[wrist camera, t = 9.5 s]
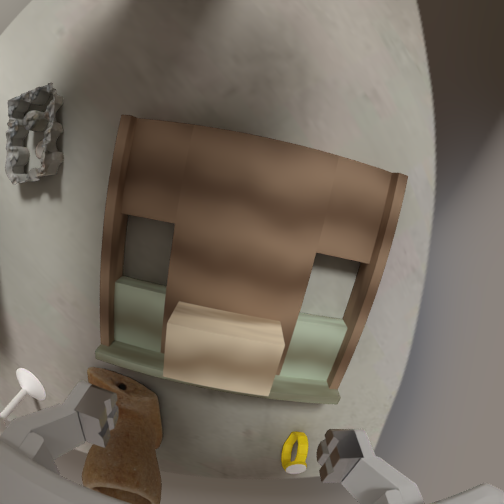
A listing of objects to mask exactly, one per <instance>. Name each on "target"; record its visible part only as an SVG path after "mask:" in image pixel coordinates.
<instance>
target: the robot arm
mask: <svg viewBox="0 0 504 504" xmlns="http://www.w3.org/2000/svg"><path fill="white" fill-rule="evenodd" d="M117 400H118V399H117V394H116V393H114V392H112V391H109V390H106V389H103V388H101V387H98V386H96V385H93V384H90V383H88V382H85V381H83V380H81V381H79V382H78V383H77V385H76V386H75V387H74V389H73V390H72V392H71V393H70V394H69V396H68V397H67V398H66V400H65V401H64V403H63V404H62V405H61V404H56V405H54V406H51V407H48V408H45V409H42V410H39V411H37V412H34V413H31V414H28V415H25V416H22V417H19V418H15V419H13V420H12V421H11V423H10V424H9V425H8V426H7V428H6V429H5V430H4V432H3V433H2V434H1V436H0V504H131V503H128V502H125V501H122V500H119V499H116V498H113V497H110V496H108V495H105V494H102V493H100V492H97V491H95V490H92V489H90V488H87V487H85V486H82V485H80V484H78V483H76V482H73V481H71V480H69V479H67V478H65V477H63V476H60V472H59V470H58V468H57V466H56V464H55V462H54V460H55V459H57V458H59V457H60V456H62V455H64V454H66V453H67V452H69V451H71V450H73V449H74V448H76V447H78V446H80V445H81V444H83V443H85V441H87V442H89V443H92V444H95V445H98V446H100V447H103V448H105V447H106V445H107V443H108V441H109V439H110V437H111V436H110V430H112V429H114V428H115V426H116V424H117V420H118V415H119V409H118V406H117V405H116V402H117ZM317 462H318V463H319V464H320V465H321V466H322V467H321V469H320V470H319V472H320V477H321V481H322V483H339V482H342V483H341V484H342V485H343V486H344V487H345V488H346V489H347V490H348V492H349V493H350V494H351V495H352V496H353V497H354V498H355V499H356V500H357V501H358V502H359V503H360V504H425V503H424V501H423V498H422V496H421V494H420V491H419V489H418V487H417V484H416V483H414V482H413V481H411V480H409V479H408V478H407V477H405V476H404V475H403V474H401V473H400V472H399V471H397V470H396V469H395V468H393V467H392V466H390V465H389V464H388V463H387V462H385V461H384V460H383V459H381V458H380V457H376V456H375V453H374V451H373V448H372V446H371V443H370V441H369V438H368V436H367V433H366V431H365V430H364V429H329V430H328V431H327V432H326V434H325V439H324V440H323V441H321V442H320V444H319V446H318V449H317ZM431 504H504V491H502V490H500V489H499V488H497V487H495V486H493V485H491V484H488V483H483V484H480V485H478V486H475V487H473V488H471V489H468V490H466V491H464V492H461V493H459V494H456V495H453V496H451V497H448V498H446V499H442V500H439V501H437V502H434V503H431Z"/></svg>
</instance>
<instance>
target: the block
mask: <svg viewBox="0 0 504 504" xmlns="http://www.w3.org/2000/svg"><path fill="white" fill-rule="evenodd" d="M284 347H285V343H284V338H283V333H282V327H281V322H280V321H276V320H271V319H265V318H259V317H254V316H248V315H243V314H238V313H233V312H228V311H223V310H218V309H213V308H208V307H203V306H198V305H194V304H189V303H185V302H180V301H179V302H178V304H177V306H176V307H175V309H174V311H173V313H172V315H171V317H170V318H169V320H168V322H167V330H166V342H165V354H164V368H163V377H167V378H171V379H175V380H180V381H184V382H188V383H193V384H198V385H202V386H207V387H213V388H218V389H223V390H229V391H235V392H241V393H248V394H254V395H262V396H269V393H270V390H271V387H272V384H273V381H274V378H275V375H276V372H277V369H278V366H279V363H280V360H281V356H282V353H283V350H284Z"/></svg>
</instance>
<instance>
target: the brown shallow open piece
mask: <svg viewBox="0 0 504 504" xmlns="http://www.w3.org/2000/svg"><path fill="white" fill-rule="evenodd" d="M407 179H408V176H406V175H404V174H401V173H391V172H388V171H385V170H383V169H380V168H377V167H374V166H370V165H367V164H364V163H361V162H358V161H355V160H351V159H348V158H345V157H341V156H338V155H334V154H331V153H327V152H324V151H320V150H316V149H312V148H308V147H305V146H301V145H296V144H292V143H288V142H284V141H280V140H275V139H271V138H266V137H261V136H256V135H252V134H246V133H241V132H236V131H230V130H225V129H219V128H213V127H206V126H200V125H193V124H186V123H178V122H170V121H161V120H151V119H141V118H136V117H134V116H132V115H121V120H120V124H119V129H118V133H117V138H116V143H115V148H114V153H113V159H112V165H111V171H110V177H109V184H108V191H107V198H106V207H105V216H104V226H103V237H102V251H101V271H100V335H101V345H100V346H99V347H98V348H97V350H96V351H95V356H96V359H98V360H101V361H104V362H107V363H110V364H113V365H116V366H120V367H123V368H126V369H129V370H133V371H136V372H140V373H143V374H147V375H151V376H154V377H158V378H162V379H166V380H170V381H174V382H178V383H183V384H187V385H192V386H196V387H201V388H206V389H211V390H216V391H222V392H227V393H233V394H239V395H246V396H253V397H260V398H267V399H276V400H284V401H294V402H306V403H319V404H338V402H339V400H340V398H341V397H340V395H339V392H338V387H339V385H340V383H341V381H342V378H343V376H344V374H345V372H346V370H347V367H348V365H349V363H350V360H351V358H352V356H353V353H354V351H355V349H356V346H357V344H358V341H359V339H360V336H361V334H362V331H363V329H364V326H365V323H366V321H367V318H368V315H369V313H370V310H371V307H372V304H373V302H374V299H375V296H376V293H377V290H378V287H379V284H380V281H381V278H382V275H383V272H384V268H385V265H386V262H387V258H388V255H389V252H390V248H391V245H392V241H393V238H394V234H395V230H396V226H397V222H398V218H399V214H400V210H401V206H402V202H403V197H404V193H405V188H406V184H407ZM128 215H133V216H138V217H144V218H149V219H154V220H159V221H164V222H169V223H174V224H175V227H174V234H173V241H172V248H171V255H170V262H169V270H168V278H167V286H163V285H159V284H155V283H150V282H146V281H142V280H138V279H134V278H130V277H126V276H123V262H124V250H125V239H126V230H127V221H128ZM316 253H321V254H326V255H331V256H335V257H340V258H345V259H349V260H354V261H358V262H361V263H360V267H359V270H358V273H357V277H356V280H355V283H354V286H353V289H352V292H351V296H350V299H349V302H348V305H347V308H346V310H345V313H344V316H343V319H337V318H330V317H324V316H318V315H311V314H305V313H299V312H300V309H301V306H302V302H303V299H304V295H305V292H306V288H307V285H308V281H309V278H310V274H311V270H312V267H313V263H314V259H315V255H316ZM179 301H180V302H185V303H189V304H194V305H198V306H203V307H208V308H213V309H218V310H223V311H228V312H233V313H238V314H243V315H248V316H254V317H259V318H265V319H271V320H276V321H280V322H281V327H282V333H283V338H284V343H285V347H284V350H283V353H282V356H281V360H280V363H279V366H278V369H277V372H276V375H275V378H274V381H273V384H272V387H271V390H270V393H269V396H262V395H254V394H248V393H241V392H235V391H229V390H223V389H218V388H213V387H207V386H202V385H198V384H193V383H188V382H184V381H180V380H175V379H171V378H167V377H163V368H164V354H165V342H166V330H167V322H168V320H169V318H170V317H171V315H172V313H173V311H174V309H175V307H176V306H177V304H178V302H179Z"/></svg>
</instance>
